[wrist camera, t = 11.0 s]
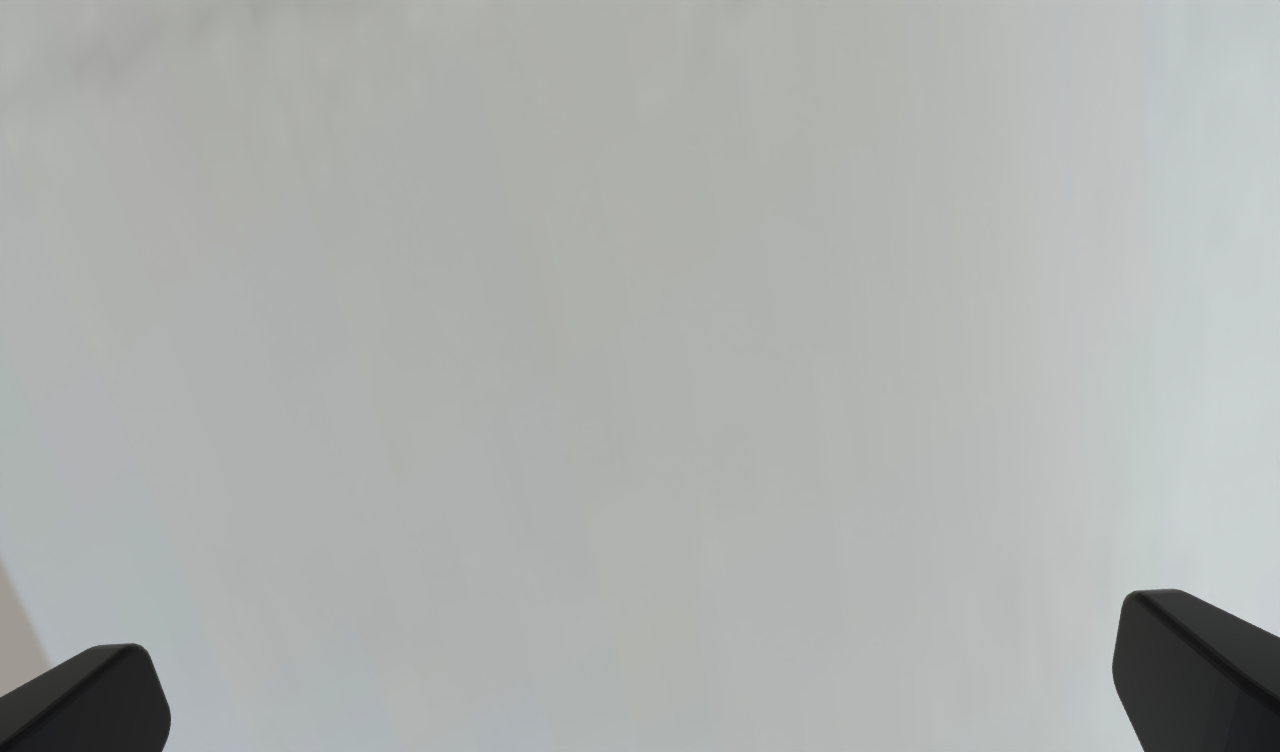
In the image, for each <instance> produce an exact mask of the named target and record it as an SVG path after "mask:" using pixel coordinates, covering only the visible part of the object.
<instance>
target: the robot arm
mask: <svg viewBox="0 0 1280 752" xmlns="http://www.w3.org/2000/svg"><path fill="white" fill-rule="evenodd" d="M1112 673H1113V680H1114V684H1115V687H1116V691H1117V693H1118V696H1119V698H1120V700H1121V702H1122V704H1123V707H1124V709H1125V711H1126V713H1127V715H1128V717H1129V720H1130V722H1131V724H1132V726H1133V728H1134V730H1135V733H1136V735H1137V737H1138V739H1139V741H1140V744H1141V746H1142V748H1143V750H1144V752H1280V637H1277V636H1275V635H1273V634H1271V633H1269V632H1267V631H1265V630H1263V629H1261V628H1259V627H1257V626H1255V625H1253V624H1251V623H1249V622H1246V621H1244V620H1242V619H1240V618H1238V617H1236V616H1234V615H1232V614H1230V613H1228V612H1226V611H1224V610H1222V609H1220V608H1218V607H1215V606H1213V605H1211V604H1209V603H1207V602H1205V601H1203V600H1201V599H1199V598H1197V597H1195V596H1193V595H1191V594H1189V593H1187V592H1184V591H1182V590H1177V589H1157V590H1139V591H1133V592H1132V593H1130V594H1128V595H1127V596H1126V598H1125V599H1124V601H1123V605H1122V608H1121V614H1120V620H1119V626H1118V632H1117V638H1116V644H1115V650H1114V656H1113V663H1112ZM170 725H171V714H170V708H169V705H168V702H167V700H166V697H165V694H164V692H163V689H162V686H161V684H160V681H159V678H158V676H157V673H156V670H155V668H154V665H153V662H152V660H151V657H150V655H149V653H148V651H147V650H146V649H144V648H143V647H142V646H141V645H138V644H134V643H129V644H109V645H98V646H94V647H91V648H89V649H87V650H85V651H83V652H81V653H80V654H78V655H76V656H74V657H72V658H71V659H69V660H67V661H65V662H63V663H62V664H60V665H58V666H56V667H54V668H53V669H51V670H49V671H47V672H45V673H44V674H42V675H40V676H38V677H36V678H35V679H33V680H31V681H29V682H28V683H26V684H24V685H22V686H20V687H18V688H17V689H15V690H13V691H11V692H9V693H8V694H6V695H4V696H2V697H0V752H162V751H163V748H164V746H165V744H166V741H167V738H168V735H169V731H170Z"/></svg>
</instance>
